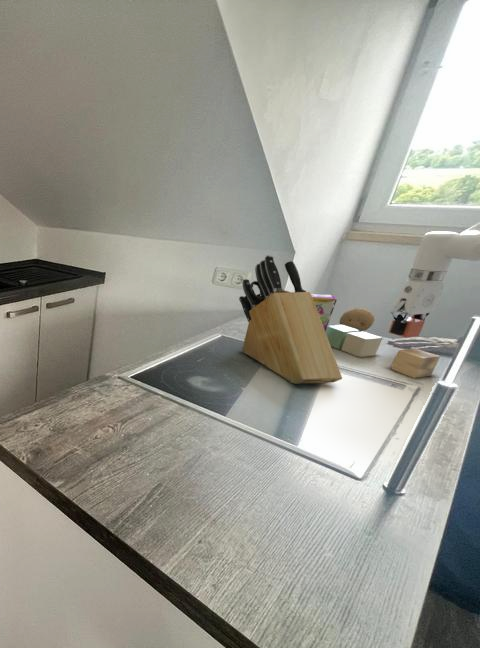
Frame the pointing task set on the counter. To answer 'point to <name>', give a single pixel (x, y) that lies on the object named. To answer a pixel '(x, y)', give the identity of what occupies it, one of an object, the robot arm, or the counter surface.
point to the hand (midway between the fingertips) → (404, 332)
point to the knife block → (286, 328)
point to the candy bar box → (324, 307)
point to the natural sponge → (357, 319)
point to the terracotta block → (411, 327)
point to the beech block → (415, 363)
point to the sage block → (338, 334)
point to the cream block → (361, 344)
